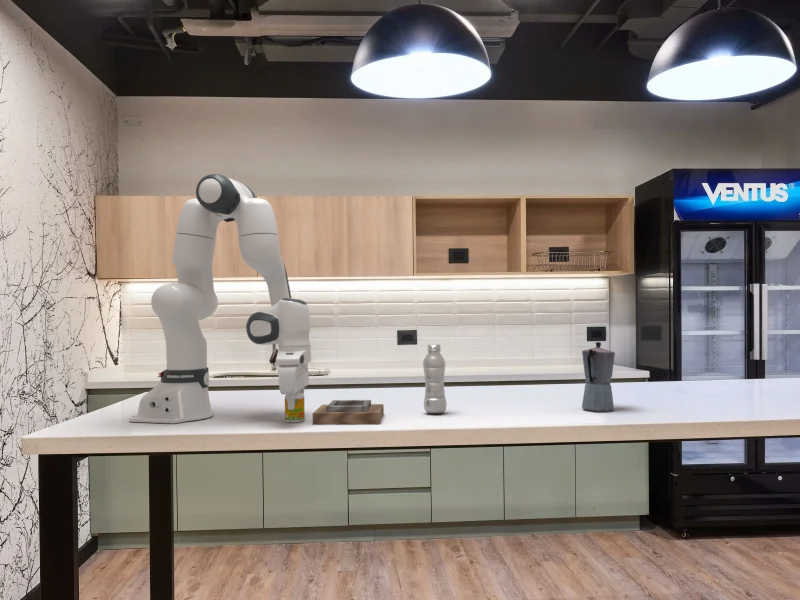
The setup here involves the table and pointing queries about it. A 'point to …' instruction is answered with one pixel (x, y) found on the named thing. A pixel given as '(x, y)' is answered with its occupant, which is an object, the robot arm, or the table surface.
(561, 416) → the table surface
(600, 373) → the moka pot
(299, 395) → the supplement bottle
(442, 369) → the plastic bottle
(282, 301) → the robot arm
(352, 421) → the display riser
